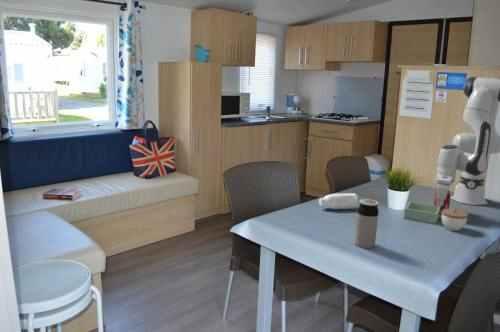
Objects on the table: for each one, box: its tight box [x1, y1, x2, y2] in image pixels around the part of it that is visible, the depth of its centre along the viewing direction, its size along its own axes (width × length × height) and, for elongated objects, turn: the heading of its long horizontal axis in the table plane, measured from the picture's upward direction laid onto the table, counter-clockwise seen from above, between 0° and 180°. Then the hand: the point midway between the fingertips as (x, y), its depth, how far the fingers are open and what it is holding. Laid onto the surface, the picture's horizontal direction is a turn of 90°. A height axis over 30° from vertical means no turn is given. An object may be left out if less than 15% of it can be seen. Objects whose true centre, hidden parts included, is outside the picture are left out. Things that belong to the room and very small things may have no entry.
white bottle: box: [318, 192, 358, 210], centre depth 213 cm, size 8×19×8 cm, turn 101°
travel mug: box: [353, 198, 380, 249], centre depth 166 cm, size 8×8×18 cm
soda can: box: [433, 189, 452, 216], centre depth 212 cm, size 7×7×12 cm
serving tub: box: [403, 201, 440, 225], centre depth 205 cm, size 14×14×5 cm
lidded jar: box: [441, 208, 469, 232], centre depth 190 cm, size 11×11×9 cm
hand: (441, 203), depth 212 cm, fingers open, 7 cm apart
